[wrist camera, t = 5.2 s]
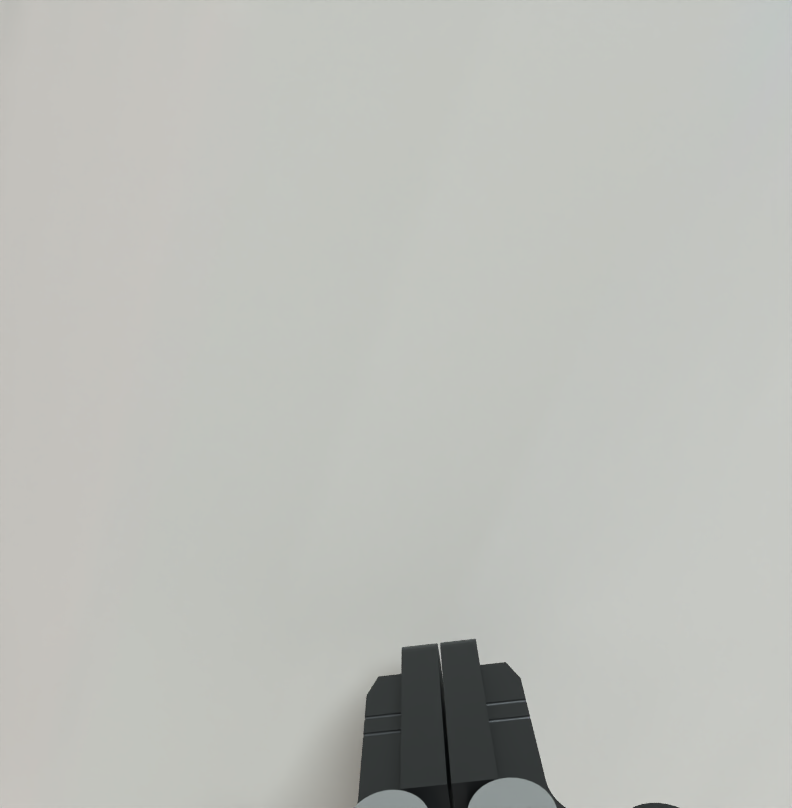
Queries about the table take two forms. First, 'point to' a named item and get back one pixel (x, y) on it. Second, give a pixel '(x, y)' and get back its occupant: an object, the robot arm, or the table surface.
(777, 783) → the table surface
